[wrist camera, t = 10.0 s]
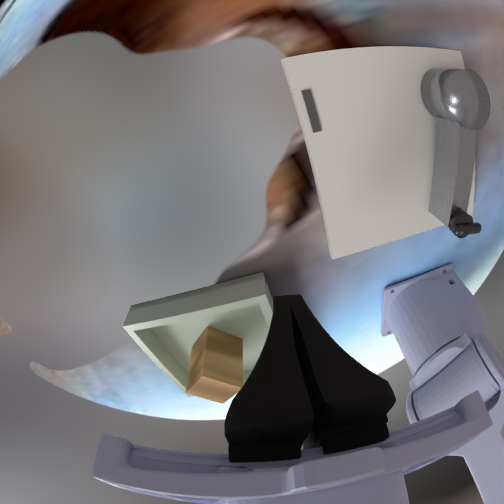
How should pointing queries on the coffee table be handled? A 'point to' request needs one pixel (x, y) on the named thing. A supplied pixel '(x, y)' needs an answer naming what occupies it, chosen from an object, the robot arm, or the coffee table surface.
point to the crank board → (369, 140)
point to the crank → (454, 142)
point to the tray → (202, 323)
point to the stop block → (215, 366)
